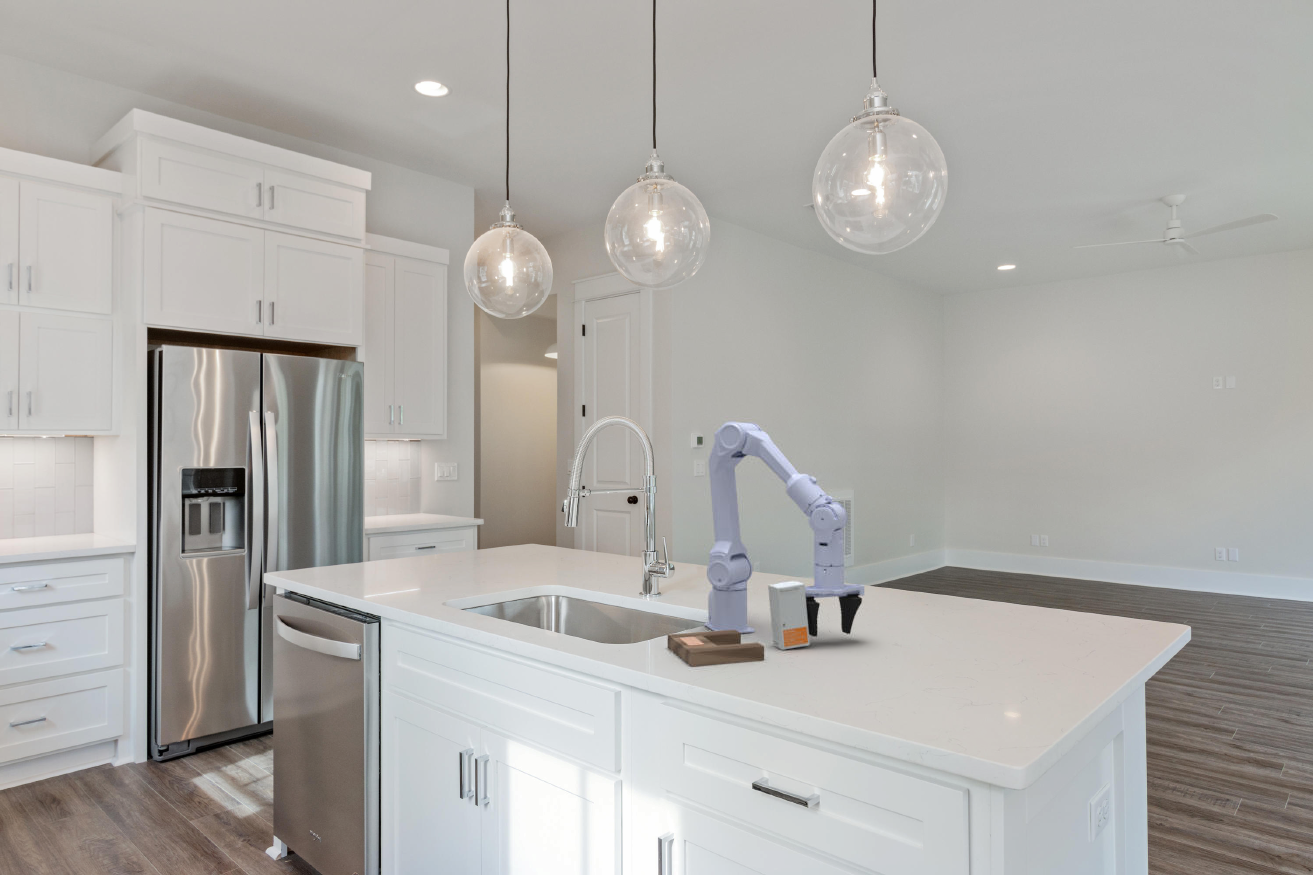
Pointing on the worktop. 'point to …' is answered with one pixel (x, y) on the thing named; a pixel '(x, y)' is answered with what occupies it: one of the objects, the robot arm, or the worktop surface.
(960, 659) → the worktop surface
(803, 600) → the skincare box
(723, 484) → the robot arm
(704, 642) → the rack board
